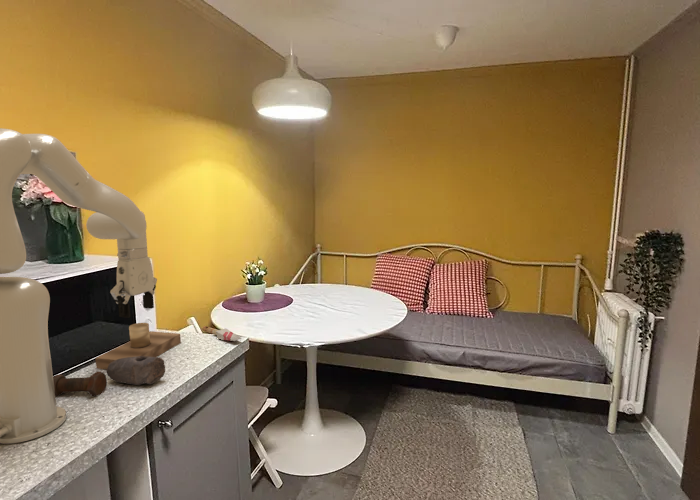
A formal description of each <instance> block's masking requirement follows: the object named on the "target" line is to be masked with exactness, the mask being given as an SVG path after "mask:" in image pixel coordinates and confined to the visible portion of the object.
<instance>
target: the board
mask: <svg viewBox="0 0 700 500" xmlns="http://www.w3.org/2000/svg"><path fill="white" fill-rule="evenodd" d="M149 334H150V345H149V346H147V347H144V348H131V344H130V340H129V341H127V342H125V343H124V344H121V345H119V346H117V347H115V348H112V349H111V350H109V351H107V352H104V353H102V354H100V355H99V356H96V357H95V367H96V369H97V370H98V369H99V370H106V371H107V368H108V365H109V364H110V363H111V362H113V361H115V360H117V359H121V358H127V357H137V356H149V357H159V356H161V355H162V354H164V353H166V352H167V351H169V350H171V349H173V348H174V347H176V346H178V345H179V344H181V343H182V341H181V338H182V337H181V333H178V332H177V333H176V332H162V331H153V330H152V331H150V330H149Z"/></svg>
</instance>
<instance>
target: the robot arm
mask: <svg viewBox="0 0 700 500" xmlns="http://www.w3.org/2000/svg"><path fill="white" fill-rule="evenodd" d="M20 175H34V176H35V177H37V179H39V180H40V181H41V182H42V183H43V184H44V185H45V186H46V187H47V188H48V189H49V190H51V192H53V194H55V195H56V196H57V198H58V199H60V201H62V202H63V203H65V204H68V205H70V206H72V207H76V208H78V209H83V210H87V211H91V212H94V213H92V214H91V215H90V216H88V218H87V220H86V225H85V226H86V230H87V232H88V234H90V236H92V237H93V238H95V239H98V240H99V239H100V240H116V244H117V258H118V260H117V264H116V284H115V286H113V288H112V289H110V292H109V293H110V294H111V296H112V299H113V301H115V303H116V304H117V305H118V317H120V318H127V319H129V318H130V317H131V308H130V307H131V306H130V303H129V300H130V298H131V296H138V295H142V307H143V308H144V309H154V308H155V306H154V305H155V304H154V295H155V290H156V288H157V282H158V278H156V277H154V270H153V266H152V261H151V259H150V256H148V255H149V254H148V241H147V228H148V226H147V220H146V215H145V213H144V212H143V211H141V209H140V208H139V207H138V206H137V205H136V204H135V202H134V201H133V200H132V199H130V197H129V196H126V195H125V194H124V193H123V192H120V191H118V190H117V189H114V188H113V187H111V186H110V185H107V184H105V183H103V182H101V181H99V180H97V179H95V178H94V177H93V176H92V175H91V174H90V173H89V172H88V171H87V170H86V169H85V167H84V166H83V165H82V164H81V163H80V162H79V161H78V159H77V158H76V157H75V156H74V155H73V153H71V151H70V150H69V149H68V148H67V147H66V146H65V145H64V143H62V142H61V140H59V139H58V138H57V137H56V136H53V135H50V134H46V133H21V132H19V131H17V130H14V129H10V128H2V127H1V128H0V275H2V274H10V273H14V272H16V271H18V270H19V269H21V268H23V266H24V265H25V263H26V261H27V250H26V246H25V241H24V238H23V235H22V232H21V229H20V225H19V223H18V219H17V216H16V213H15V209H14V204H13V196H12V195H13V189H14V186H15V183H16V182H17V179H18V178H19V177H20ZM50 303H51V297H50V293H49V290H48V288H47V287H46V286H45V285H44V284H43V283H41V282H40V281H39V280H36V279H33V278H29V277H22V276H0V444H4V445H5V444H19V443H22V442H28V441H31V440H34V439H37V438H40V437H43V436H45V435H47V434H49V433H51V432H53V431H54V430H56V429H58V428H59V427H60V426H61V425H63V423H64V422H65V421H66V420H67V411H66V409H65V408H63V407H61V406H57V401H56V396H55V389H54V381H53V376H54V375H53V374H54V373H53V367H52V366H53V365H52V358H51V357H52V356H51V350H50V342H49V341H50V340H49V329H48V328H49V326H48V324H49V323H48V321H49V315H50V314H49V313H50Z"/></svg>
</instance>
